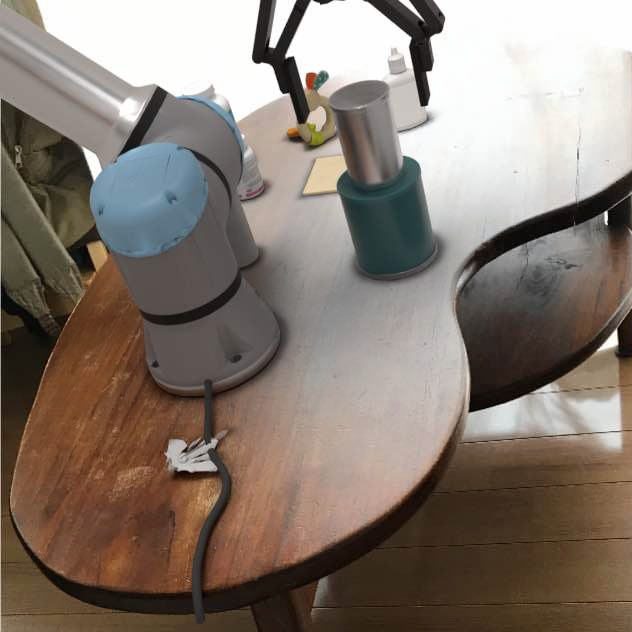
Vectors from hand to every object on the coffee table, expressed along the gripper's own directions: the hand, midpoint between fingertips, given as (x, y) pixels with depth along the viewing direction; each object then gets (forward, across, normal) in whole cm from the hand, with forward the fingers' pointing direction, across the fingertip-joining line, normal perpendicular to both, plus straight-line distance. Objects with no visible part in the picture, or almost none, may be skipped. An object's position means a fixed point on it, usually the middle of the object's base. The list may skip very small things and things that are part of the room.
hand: (363, 110), depth 95 cm
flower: (+19, +16, +32) cm, 41 cm away
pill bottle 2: (+19, +25, -20) cm, 38 cm away
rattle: (+19, +18, -35) cm, 44 cm away
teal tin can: (+19, 0, 0) cm, 19 cm away
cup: (+8, 0, 0) cm, 8 cm away
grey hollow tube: (+19, +21, -3) cm, 29 cm away
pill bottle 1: (+19, +31, -28) cm, 46 cm away
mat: (+19, +11, -22) cm, 31 cm away
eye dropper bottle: (+19, +3, -35) cm, 40 cm away
